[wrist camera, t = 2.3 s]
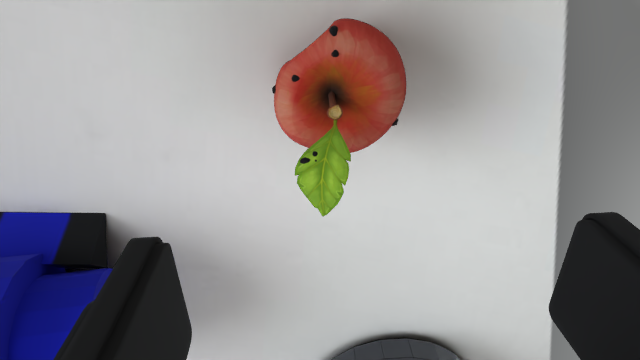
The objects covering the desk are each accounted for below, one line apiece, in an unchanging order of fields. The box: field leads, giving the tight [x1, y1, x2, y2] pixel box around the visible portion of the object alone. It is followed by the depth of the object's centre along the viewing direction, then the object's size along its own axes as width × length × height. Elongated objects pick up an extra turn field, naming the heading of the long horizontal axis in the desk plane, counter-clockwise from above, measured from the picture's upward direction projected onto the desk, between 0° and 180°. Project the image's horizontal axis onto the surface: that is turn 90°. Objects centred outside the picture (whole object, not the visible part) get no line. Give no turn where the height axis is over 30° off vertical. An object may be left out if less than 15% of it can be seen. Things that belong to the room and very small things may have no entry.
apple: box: [272, 19, 406, 216], centre depth 21 cm, size 8×7×10 cm
